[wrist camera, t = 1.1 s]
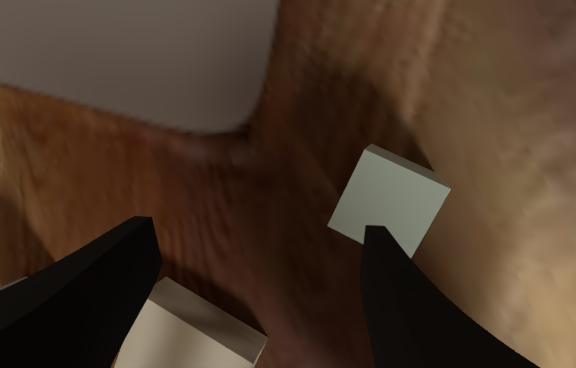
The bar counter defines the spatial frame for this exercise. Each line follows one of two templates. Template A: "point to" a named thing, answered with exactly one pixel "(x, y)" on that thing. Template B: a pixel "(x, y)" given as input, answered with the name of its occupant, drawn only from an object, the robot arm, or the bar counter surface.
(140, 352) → the birch block
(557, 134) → the bar counter surface
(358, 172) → the sage block
